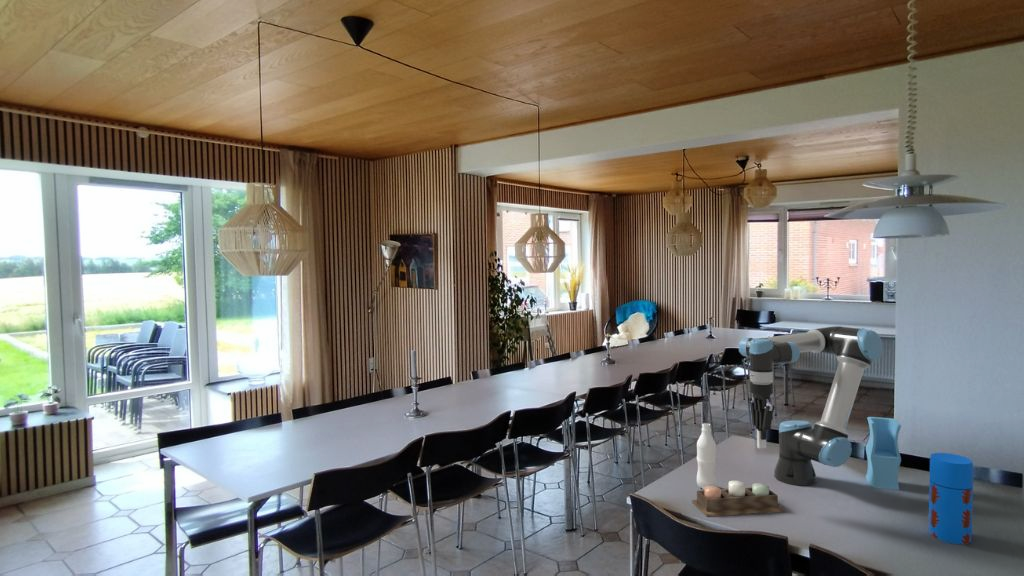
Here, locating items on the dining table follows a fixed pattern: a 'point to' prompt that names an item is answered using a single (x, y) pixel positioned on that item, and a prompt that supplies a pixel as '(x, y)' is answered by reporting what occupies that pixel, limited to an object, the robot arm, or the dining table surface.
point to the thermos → (950, 498)
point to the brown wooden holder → (737, 503)
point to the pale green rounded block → (760, 489)
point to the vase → (883, 453)
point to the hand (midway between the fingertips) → (761, 447)
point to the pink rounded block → (712, 492)
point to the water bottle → (706, 458)
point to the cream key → (736, 489)
